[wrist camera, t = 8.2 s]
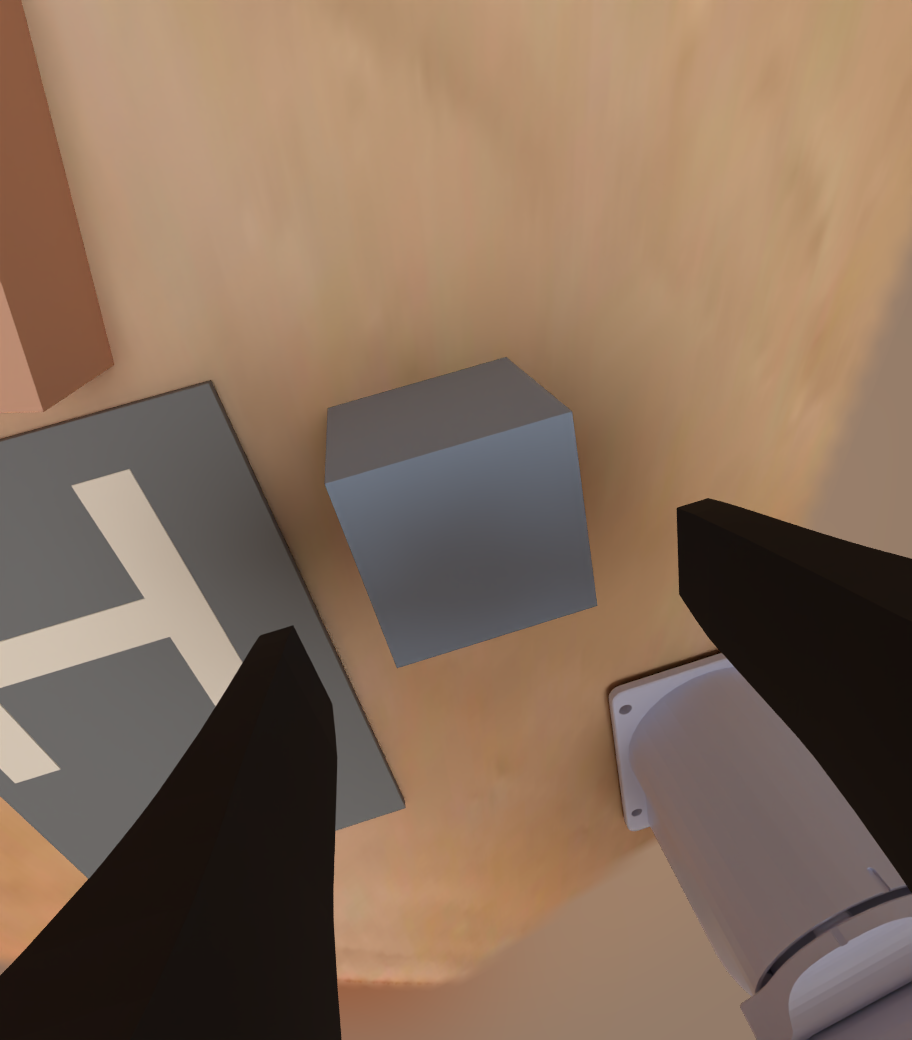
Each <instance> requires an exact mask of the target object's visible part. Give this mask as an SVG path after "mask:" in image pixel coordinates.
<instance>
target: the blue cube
mask: <svg viewBox="0 0 912 1040" xmlns="http://www.w3.org/2000/svg"><path fill="white" fill-rule="evenodd" d="M325 486H326V489H327V491H328V494H329V496H330V499H331V502H332V504H333V507H334V509H335V512H336V514H337V517H338V519H339V522H340V524H341V527H342V529H343V532H344V535H345V537H346V540H347V542H348V545H349V547H350V550H351V552H352V555H353V557H354V560H355V563H356V565H357V568H358V570H359V573H360V575H361V578H362V580H363V583H364V585H365V588H366V591H367V593H368V596H369V598H370V601H371V603H372V606H373V608H374V611H375V613H376V616H377V618H378V621H379V624H380V626H381V629H382V631H383V634H384V636H385V639H386V641H387V644H388V646H389V649H390V652H391V654H392V657H393V659H394V662H395V664H396V667H397V668H399V667H403V666H406V665H409V664H412V663H415V662H419V661H422V660H425V659H428V658H431V657H435V656H438V655H441V654H444V653H447V652H451V651H454V650H457V649H460V648H463V647H467V646H470V645H473V644H476V643H480V642H483V641H486V640H489V639H492V638H496V637H499V636H502V635H505V634H508V633H512V632H515V631H518V630H521V629H524V628H528V627H531V626H534V625H537V624H540V623H544V622H547V621H550V620H553V619H556V618H560V617H563V616H566V615H569V614H573V613H576V612H579V611H582V610H585V609H589V608H592V607H595V606H597V599H596V591H595V584H594V576H593V568H592V561H591V553H590V545H589V538H588V530H587V522H586V515H585V507H584V499H583V492H582V484H581V476H580V469H579V461H578V453H577V446H576V438H575V430H574V422H573V415H572V411H571V410H570V409H568V408H567V407H566V406H565V405H564V404H562V403H561V402H560V401H559V400H558V399H556V398H555V397H554V396H553V395H552V394H550V393H549V392H548V391H547V390H545V389H544V388H543V387H542V386H541V385H539V384H538V383H537V382H536V381H535V380H533V379H532V378H531V377H530V376H528V375H527V374H526V373H525V372H524V371H522V370H521V369H520V368H519V367H518V366H516V365H515V364H514V363H513V362H511V361H510V360H509V359H508V358H507V357H505V358H501V359H498V360H494V361H491V362H487V363H484V364H480V365H477V366H473V367H470V368H466V369H463V370H459V371H456V372H452V373H449V374H445V375H442V376H438V377H435V378H431V379H428V380H424V381H421V382H417V383H414V384H410V385H407V386H403V387H400V388H396V389H393V390H389V391H386V392H382V393H379V394H375V395H372V396H368V397H365V398H361V399H358V400H355V401H351V402H348V403H344V404H341V405H337V406H334V407H330V408H328V415H327V438H326V462H325Z"/></svg>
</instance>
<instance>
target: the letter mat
mask: <svg viewBox="0 0 912 1040" xmlns="http://www.w3.org/2000/svg"><path fill="white" fill-rule="evenodd" d="M292 625H293V626H294V628H295V630H296V632H297V634H298V636H299V638H300V640H301V642H302V644H303V646H304V648H305V650H306V652H307V654H308V656H309V658H310V660H311V662H312V664H313V666H314V668H315V670H316V672H317V674H318V676H319V678H320V680H321V682H322V684H323V686H324V688H325V690H326V692H327V694H328V696H329V698H330V700H331V702H332V705H333V714H334V724H335V734H336V746H337V795H336V825H335V831H336V830H339V829H342V828H345V827H348V826H351V825H355V824H358V823H361V822H364V821H367V820H370V819H373V818H376V817H379V816H382V815H385V814H388V813H391V812H395V811H398V810H401V809H404V808H406V807H405V801H404V798H403V796H402V794H401V792H400V790H399V788H398V785H397V783H396V781H395V779H394V777H393V775H392V772H391V770H390V768H389V766H388V764H387V762H386V759H385V757H384V755H383V753H382V751H381V748H380V746H379V744H378V742H377V740H376V738H375V735H374V733H373V731H372V729H371V727H370V725H369V722H368V720H367V718H366V716H365V714H364V712H363V709H362V707H361V705H360V703H359V701H358V699H357V696H356V694H355V692H354V690H353V688H352V686H351V683H350V681H349V679H348V677H347V675H346V673H345V670H344V668H343V666H342V664H341V662H340V659H339V657H338V655H337V653H336V651H335V649H334V646H333V644H332V642H331V640H330V638H329V636H328V633H327V631H326V629H325V627H324V625H323V623H322V620H321V618H320V616H319V614H318V612H317V610H316V607H315V605H314V603H313V601H312V599H311V597H310V594H309V592H308V590H307V588H306V586H305V583H304V581H303V579H302V577H301V575H300V573H299V570H298V568H297V566H296V564H295V562H294V560H293V557H292V555H291V553H290V551H289V549H288V547H287V544H286V542H285V540H284V538H283V536H282V534H281V531H280V529H279V527H278V525H277V523H276V521H275V518H274V516H273V514H272V512H271V510H270V508H269V505H268V503H267V501H266V499H265V497H264V494H263V492H262V490H261V488H260V486H259V484H258V481H257V479H256V477H255V475H254V473H253V471H252V468H251V466H250V464H249V462H248V460H247V458H246V455H245V453H244V451H243V449H242V447H241V445H240V442H239V440H238V438H237V436H236V434H235V432H234V429H233V427H232V425H231V423H230V421H229V418H228V416H227V414H226V412H225V410H224V408H223V405H222V403H221V401H220V399H219V397H218V395H217V392H216V390H215V388H214V386H213V384H212V382H211V380H210V381H206V382H203V383H199V384H196V385H192V386H189V387H185V388H181V389H178V390H174V391H171V392H167V393H164V394H160V395H156V396H153V397H149V398H146V399H142V400H139V401H135V402H131V403H128V404H124V405H121V406H117V407H114V408H110V409H107V410H103V411H99V412H96V413H92V414H89V415H85V416H82V417H78V418H74V419H71V420H67V421H64V422H60V423H57V424H53V425H49V426H46V427H42V428H39V429H35V430H32V431H28V432H24V433H21V434H17V435H14V436H10V437H7V438H3V439H0V796H1V797H2V798H3V799H4V800H5V801H6V802H7V803H8V804H9V805H10V806H11V807H12V808H13V809H15V810H16V811H17V812H18V813H19V814H20V815H21V816H22V817H23V818H24V819H25V820H26V821H27V822H28V823H29V824H31V825H32V826H33V827H34V828H35V829H36V830H37V831H38V832H39V833H40V834H41V835H42V836H43V837H44V838H45V839H47V840H48V841H49V842H50V843H51V844H52V845H53V846H54V847H55V848H56V849H57V850H58V851H59V852H60V853H61V854H63V855H64V856H65V857H66V858H67V859H68V860H69V861H70V862H71V863H72V864H73V865H74V866H75V867H76V868H77V869H79V870H80V871H81V872H82V873H83V874H84V875H85V876H86V877H87V878H88V879H89V878H90V877H91V876H92V874H93V873H94V872H95V871H96V870H97V868H98V867H99V866H100V865H101V864H102V863H103V861H104V860H105V859H106V858H107V856H108V855H109V854H110V853H111V851H112V850H113V849H114V848H115V847H116V845H117V844H118V843H119V842H120V840H121V839H122V838H123V837H124V835H125V834H126V833H127V832H128V830H129V829H130V828H131V827H132V826H133V824H134V823H135V822H136V820H137V819H138V818H139V816H140V815H141V814H142V813H143V811H144V810H145V809H146V807H147V806H148V805H149V803H150V802H151V801H152V799H153V798H154V797H155V795H156V794H157V793H158V791H159V790H160V788H161V787H162V785H163V784H164V782H165V781H166V780H167V778H168V777H169V775H170V774H171V772H172V771H173V770H174V768H175V767H176V765H177V764H178V762H179V761H180V759H181V758H182V757H183V755H184V754H185V752H186V751H187V749H188V748H189V746H190V745H191V744H192V742H193V741H194V739H195V738H196V736H197V735H198V733H199V732H200V730H201V729H202V727H203V726H204V724H205V722H206V721H207V719H208V718H209V716H210V714H211V713H212V711H213V710H214V708H215V707H216V705H217V703H218V702H219V700H220V699H221V697H222V695H223V694H224V692H225V691H226V689H227V687H228V686H229V684H230V683H231V681H232V679H233V678H234V676H235V674H236V673H237V671H238V669H239V668H240V666H241V664H242V663H243V661H244V659H245V658H246V656H247V655H248V653H249V651H250V650H251V648H252V646H253V645H254V643H255V642H256V640H257V639H258V637H259V636H260V635H263V634H266V633H269V632H273V631H276V630H279V629H282V628H286V627H289V626H292Z"/></svg>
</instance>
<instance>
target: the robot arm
mask: <svg viewBox="0 0 912 1040" xmlns="http://www.w3.org/2000/svg"><path fill="white" fill-rule="evenodd" d="M677 535H678V568H679V595H680V596H681V598H682V599H683V601H684V602H685V604H686V605H687V607H688V608H689V610H690V612H691V613H692V615H693V616H694V618H695V619H696V621H697V622H698V623H699V625H700V626H701V628H702V629H703V630H704V632H705V633H706V635H707V636H708V638H709V639H710V640H711V641H712V642H713V643H714V645H715V646H716V647H717V648H718V649H719V650H720V651H721V653H720V654H716V655H713V656H710V657H707V658H704V659H701V660H698V661H695V662H691V663H688V664H685V665H682V666H679V667H676V668H673V669H670V670H666V671H663V672H660V673H657V674H654V675H651V676H648V677H645V678H641V679H638V680H635V681H632V682H629V683H626V684H623V685H620V686H617V687H615V688H614V689H613V690H612V691H611V692H610V694H609V705H610V713H611V720H612V728H613V736H614V743H615V751H616V759H617V766H618V774H619V782H620V789H621V797H622V805H623V812H624V820H625V823H626V825H627V827H628V829H629V830H631V831H638V830H641V829H644V828H647V827H651V829H652V831H653V833H654V835H655V837H656V839H657V841H658V842H659V844H660V846H661V848H662V850H663V852H664V854H665V856H666V858H667V860H668V862H669V864H670V866H671V868H672V869H673V871H674V873H675V875H676V877H677V879H678V881H679V883H680V885H681V887H682V889H683V891H684V893H685V895H686V897H687V899H688V901H689V903H690V904H691V906H692V908H693V910H694V912H695V914H696V916H697V918H698V920H699V922H700V924H701V926H702V928H703V930H704V932H705V934H706V936H707V937H708V939H709V941H710V943H711V945H712V947H713V949H714V951H715V953H716V954H717V956H718V958H719V959H720V961H721V963H722V964H723V966H724V967H725V969H726V970H727V971H728V973H729V974H730V975H731V976H732V978H733V979H734V980H735V981H736V982H737V983H738V984H739V985H740V986H741V987H742V988H743V989H744V990H745V991H746V992H747V993H748V994H750V995H751V996H752V997H750V998H749V999H748V1000H746V1001H744V1002H742V1003H741V1005H740V1008H741V1010H742V1012H743V1014H744V1016H745V1018H746V1020H747V1022H748V1023H749V1026H750V1028H751V1029H752V1032H753V1033H754V1035H755V1037H756V1040H912V559H910V558H906V557H903V556H899V555H896V554H892V553H888V552H884V551H881V550H877V549H873V548H869V547H866V546H862V545H859V544H855V543H852V542H848V541H845V540H842V539H838V538H835V537H832V536H829V535H825V534H822V533H819V532H816V531H813V530H809V529H806V528H803V527H800V526H797V525H794V524H791V523H787V522H784V521H781V520H778V519H775V518H772V517H769V516H766V515H763V514H760V513H757V512H754V511H751V510H747V509H744V508H741V507H738V506H735V505H731V504H728V503H724V502H721V501H717V500H713V499H709V498H707V499H704V500H701V501H697V502H694V503H691V504H688V505H684V506H681V507H678V508H677ZM336 795H337V746H336V734H335V724H334V714H333V705H332V702H331V700H330V698H329V696H328V694H327V692H326V690H325V688H324V686H323V684H322V682H321V680H320V678H319V676H318V674H317V672H316V670H315V668H314V666H313V664H312V662H311V660H310V658H309V656H308V654H307V652H306V650H305V648H304V646H303V644H302V642H301V640H300V638H299V636H298V634H297V632H296V630H295V628H294V626H293V625H292V626H289V627H286V628H282V629H279V630H276V631H273V632H269V633H266V634H263V635H260V636H259V637H258V639H257V640H256V642H255V643H254V645H253V646H252V648H251V650H250V651H249V653H248V655H247V656H246V658H245V659H244V661H243V663H242V664H241V666H240V668H239V669H238V671H237V673H236V674H235V676H234V678H233V679H232V681H231V683H230V684H229V686H228V687H227V689H226V691H225V692H224V694H223V695H222V697H221V699H220V700H219V702H218V703H217V705H216V707H215V708H214V710H213V711H212V713H211V714H210V716H209V718H208V719H207V721H206V722H205V724H204V726H203V727H202V729H201V730H200V732H199V733H198V735H197V736H196V738H195V739H194V741H193V742H192V744H191V745H190V746H189V748H188V749H187V751H186V752H185V754H184V755H183V757H182V758H181V759H180V761H179V762H178V764H177V765H176V767H175V768H174V770H173V771H172V772H171V774H170V775H169V777H168V778H167V780H166V781H165V782H164V784H163V785H162V787H161V788H160V790H159V791H158V793H157V794H156V795H155V797H154V798H153V799H152V801H151V802H150V803H149V805H148V806H147V807H146V809H145V810H144V811H143V813H142V814H141V815H140V816H139V818H138V819H137V820H136V822H135V823H134V824H133V826H132V827H131V828H130V829H129V830H128V832H127V833H126V834H125V835H124V837H123V838H122V839H121V840H120V842H119V843H118V844H117V845H116V847H115V848H114V849H113V850H112V851H111V853H110V854H109V855H108V856H107V858H106V859H105V860H104V861H103V863H102V864H101V865H100V866H99V867H98V868H97V870H96V871H95V872H94V873H93V874H92V876H91V877H90V878H89V879H88V880H87V881H86V882H85V883H84V885H83V886H82V887H81V888H80V889H79V890H78V891H77V892H76V894H75V895H74V896H73V897H72V898H71V899H70V900H69V901H68V902H67V904H66V905H65V906H64V907H63V908H62V909H61V910H60V911H59V912H58V914H57V915H56V916H55V917H54V918H53V919H52V920H51V921H50V922H49V924H48V925H47V926H46V927H45V928H44V929H43V930H42V931H41V933H40V934H39V935H38V936H37V937H36V938H35V939H34V940H33V941H32V943H31V944H30V945H29V946H28V947H27V948H26V949H25V950H24V951H23V952H22V953H21V954H20V956H19V957H18V958H17V959H16V960H15V961H14V962H13V963H12V964H11V965H10V966H9V967H8V968H7V969H6V970H5V971H4V972H3V973H2V974H1V975H0V1040H341V1028H340V1014H339V1001H338V988H337V971H336V954H335V937H334V918H333V884H334V854H335V825H336Z"/></svg>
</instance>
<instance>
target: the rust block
mask: <svg viewBox="0 0 912 1040" xmlns="http://www.w3.org/2000/svg"><path fill="white" fill-rule="evenodd" d="M113 365H114V362H113V358H112V354H111V350H110V346H109V342H108V338H107V334H106V331H105V327H104V323H103V319H102V315H101V311H100V307H99V303H98V299H97V295H96V291H95V287H94V284H93V280H92V276H91V272H90V268H89V264H88V260H87V256H86V252H85V248H84V244H83V241H82V237H81V233H80V229H79V225H78V221H77V217H76V213H75V209H74V205H73V201H72V197H71V194H70V190H69V186H68V182H67V178H66V174H65V170H64V166H63V162H62V158H61V154H60V150H59V147H58V143H57V139H56V135H55V131H54V127H53V123H52V119H51V115H50V111H49V107H48V104H47V100H46V96H45V92H44V88H43V84H42V80H41V76H40V72H39V68H38V64H37V60H36V57H35V53H34V49H33V45H32V41H31V37H30V33H29V29H28V25H27V21H26V17H25V14H24V10H23V6H22V2H21V0H0V413H24V412H44V411H46V410H47V409H49V408H50V407H52V406H53V405H55V404H56V403H58V402H59V401H61V400H62V399H64V398H65V397H67V396H68V395H70V394H71V393H73V392H74V391H76V390H77V389H79V388H80V387H82V386H83V385H84V384H86V383H87V382H89V381H90V380H92V379H93V378H95V377H96V376H98V375H99V374H101V373H102V372H104V371H105V370H107V369H108V368H110V367H111V366H113Z"/></svg>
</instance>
